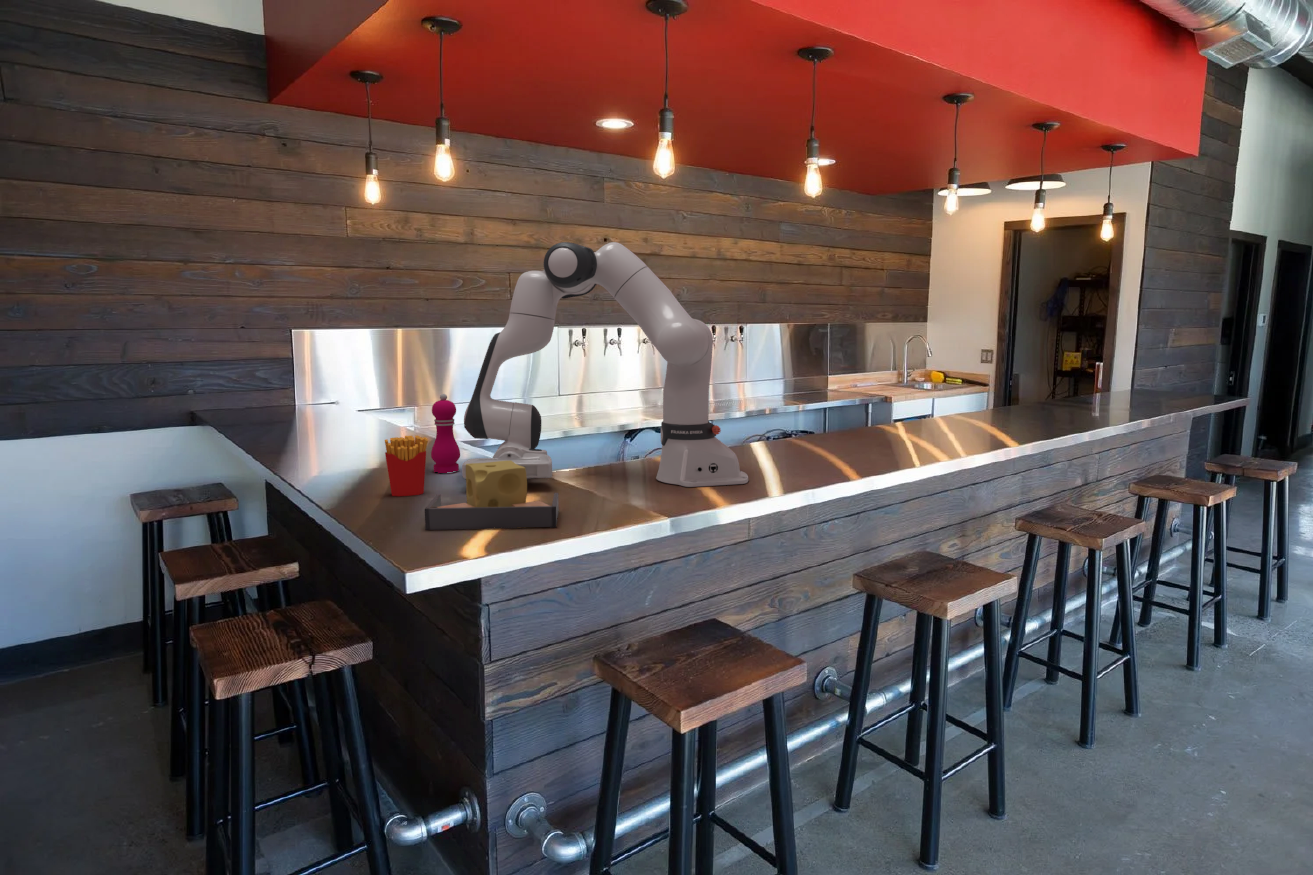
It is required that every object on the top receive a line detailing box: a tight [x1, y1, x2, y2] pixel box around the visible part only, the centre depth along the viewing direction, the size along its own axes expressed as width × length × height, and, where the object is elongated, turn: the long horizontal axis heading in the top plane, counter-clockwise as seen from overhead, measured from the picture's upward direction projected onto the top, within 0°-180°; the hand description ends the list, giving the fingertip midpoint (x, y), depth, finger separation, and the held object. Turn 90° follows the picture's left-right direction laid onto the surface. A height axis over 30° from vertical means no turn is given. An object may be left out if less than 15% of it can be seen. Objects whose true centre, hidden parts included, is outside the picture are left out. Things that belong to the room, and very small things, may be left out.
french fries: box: [384, 435, 429, 497], centre depth 178 cm, size 9×4×13 cm, turn 111°
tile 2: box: [512, 500, 551, 507], centre depth 157 cm, size 6×6×3 cm
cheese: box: [465, 461, 528, 507], centre depth 162 cm, size 10×11×10 cm
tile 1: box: [436, 502, 473, 508], centre depth 155 cm, size 6×6×3 cm
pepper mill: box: [430, 393, 461, 474], centre depth 202 cm, size 7×7×20 cm
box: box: [424, 492, 560, 531], centre depth 156 cm, size 24×12×4 cm, turn 95°
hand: (505, 475), depth 175 cm, fingers closed
